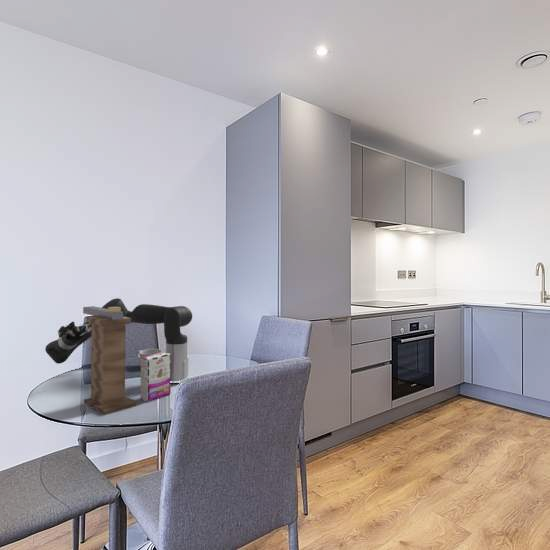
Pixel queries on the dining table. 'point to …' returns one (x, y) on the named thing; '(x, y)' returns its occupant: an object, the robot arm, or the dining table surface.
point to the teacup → (147, 353)
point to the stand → (108, 365)
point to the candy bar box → (155, 376)
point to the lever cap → (104, 312)
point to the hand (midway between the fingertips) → (84, 322)
